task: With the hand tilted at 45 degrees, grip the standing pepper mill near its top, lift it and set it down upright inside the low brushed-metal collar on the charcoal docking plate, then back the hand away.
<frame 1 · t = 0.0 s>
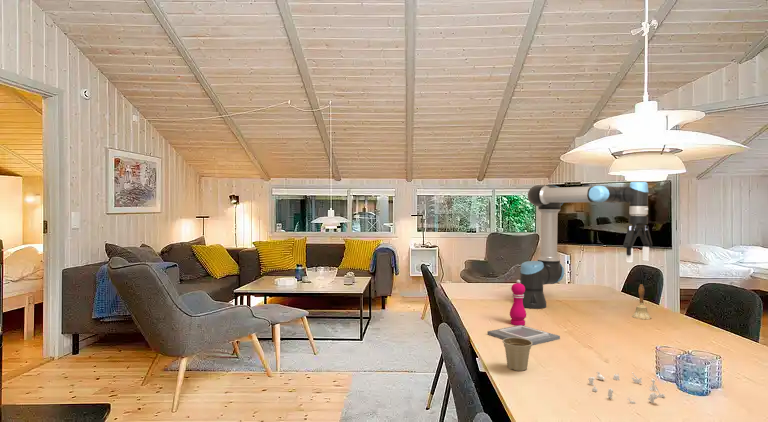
hand: (637, 261, 214), 28 cm above the table, tool pointing down, fingers open, 13 cm apart
flower pot: (517, 368, 152), on the table
game piece set: (624, 392, 134), on the table
docking plate: (523, 336, 189), on the table
hand bell: (641, 317, 224), on the table
pepper mill: (517, 324, 209), on the table
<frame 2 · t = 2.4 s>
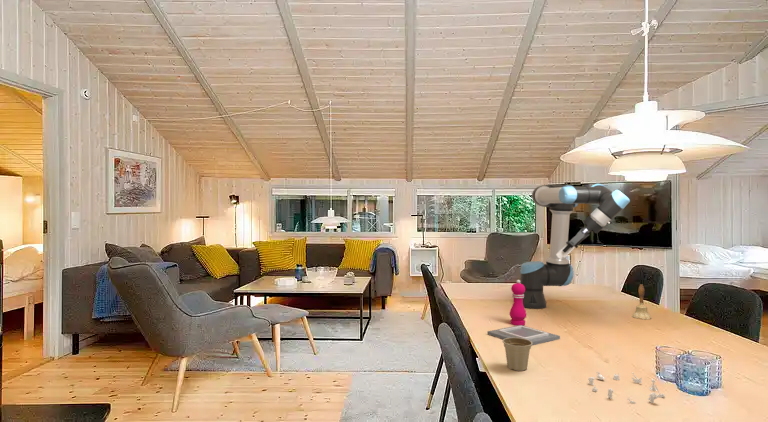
hand: (560, 256, 205), 31 cm above the table, tool tilted 40°, fingers open, 13 cm apart
nothing on the table moved.
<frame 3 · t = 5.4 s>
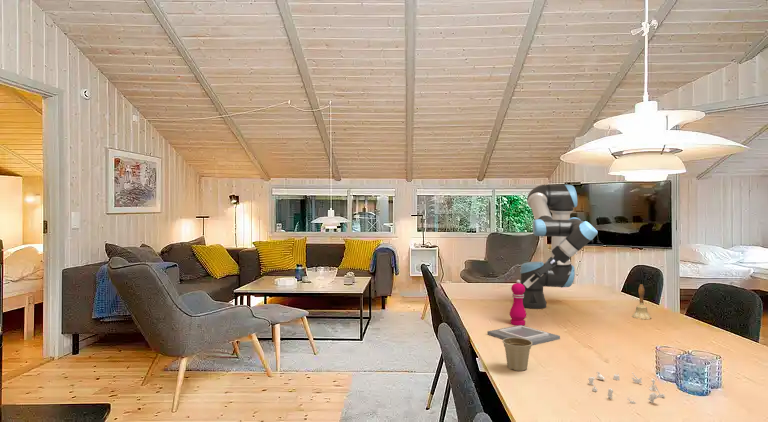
hand: (528, 283, 206), 19 cm above the table, tool tilted 45°, fingers open, 13 cm apart
nothing on the table moved.
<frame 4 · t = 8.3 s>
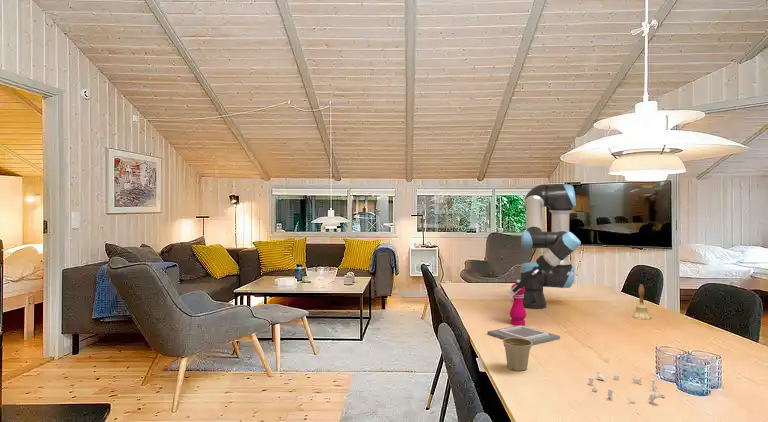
hand: (510, 294, 211), 13 cm above the table, tool tilted 45°, fingers closed on pepper mill, 6 cm apart
pepper mill: (517, 324, 209), on the table, touching gripper
everything else where it was.
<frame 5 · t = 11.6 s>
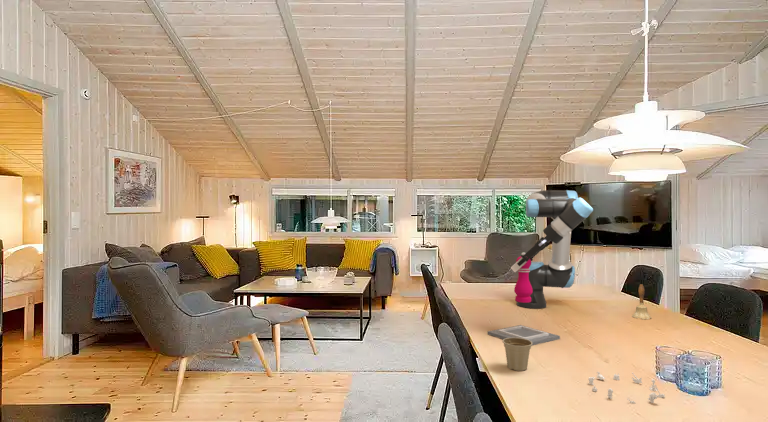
hand: (514, 269, 191), 27 cm above the table, tool tilted 45°, fingers closed on pepper mill, 6 cm apart
pepper mill: (523, 301, 190), point 14 cm above the table, touching gripper
everything else where it was.
when the fingers open (15 cm above the table, at t = 15.1 s): pepper mill drops 1 cm, resting on docking plate.
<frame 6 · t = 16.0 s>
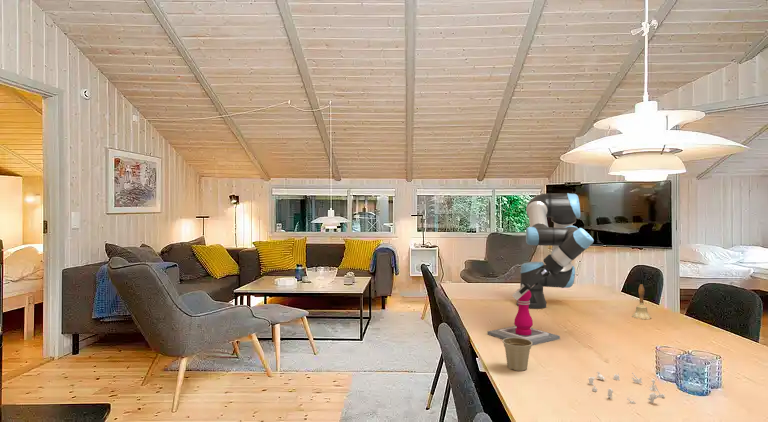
hand: (517, 295, 190), 17 cm above the table, tool tilted 45°, fingers open, 13 cm apart
pepper mill: (523, 333, 189), point 1 cm above the table, touching docking plate
everything else where it was.
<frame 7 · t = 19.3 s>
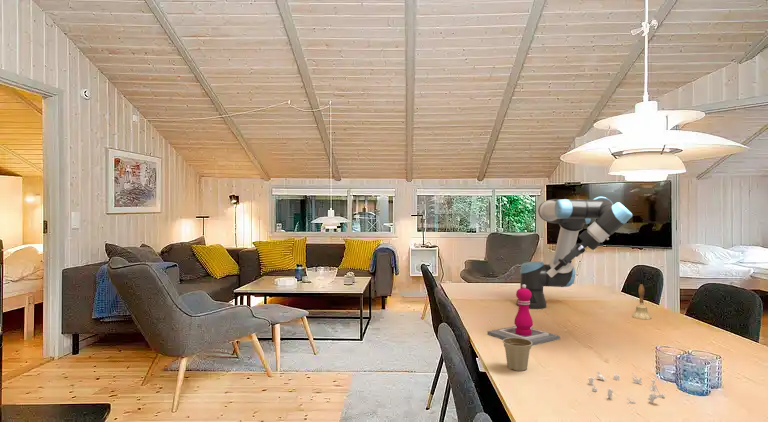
hand: (551, 272, 184), 27 cm above the table, tool tilted 45°, fingers open, 13 cm apart
nothing on the table moved.
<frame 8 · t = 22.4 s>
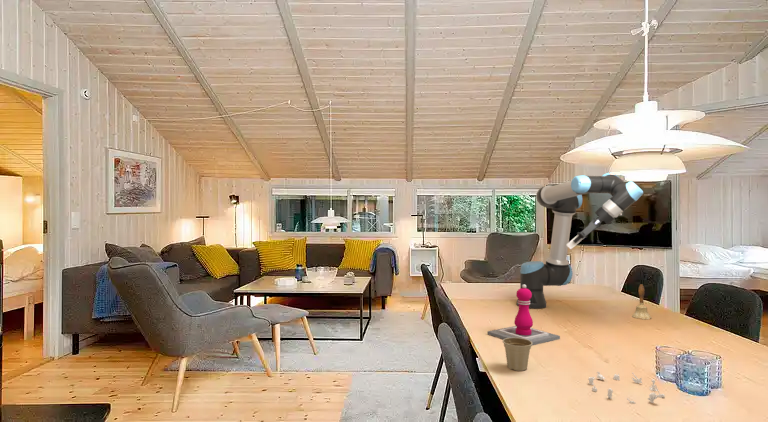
hand: (570, 246, 205), 36 cm above the table, tool tilted 45°, fingers open, 13 cm apart
nothing on the table moved.
at the end: pepper mill inside the target area on the docking plate (0.1 cm from its centre), point 1.0 cm above the docking plate's base; pepper mill tilted 0°; the gripper is holding nothing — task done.
